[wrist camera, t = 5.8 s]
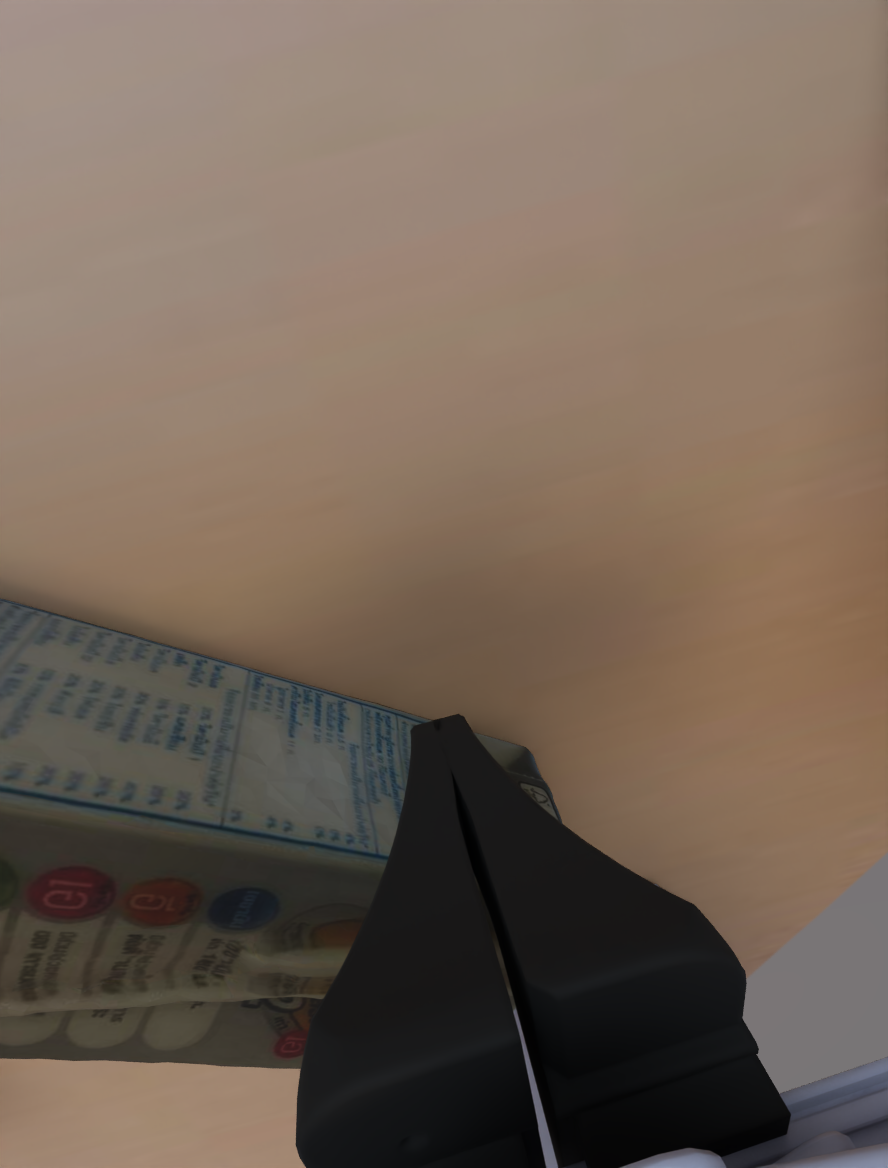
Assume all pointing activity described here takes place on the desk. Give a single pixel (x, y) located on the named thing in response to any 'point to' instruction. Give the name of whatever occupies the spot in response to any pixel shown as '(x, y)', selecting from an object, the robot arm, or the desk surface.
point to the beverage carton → (185, 845)
